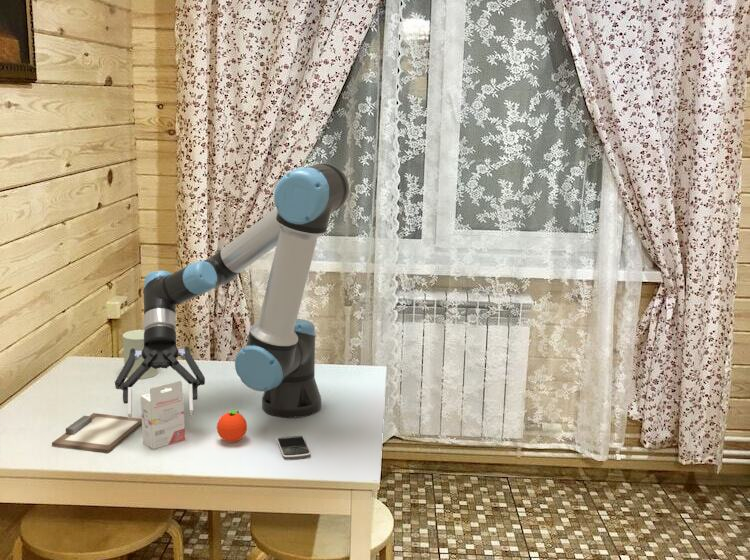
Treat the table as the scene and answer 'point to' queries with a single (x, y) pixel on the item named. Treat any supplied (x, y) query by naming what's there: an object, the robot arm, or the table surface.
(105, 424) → the clipboard
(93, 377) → the table surface
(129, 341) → the can
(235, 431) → the clementine
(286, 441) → the cell phone
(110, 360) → the table surface
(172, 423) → the ink cartridge box
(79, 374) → the table surface
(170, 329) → the robot arm
